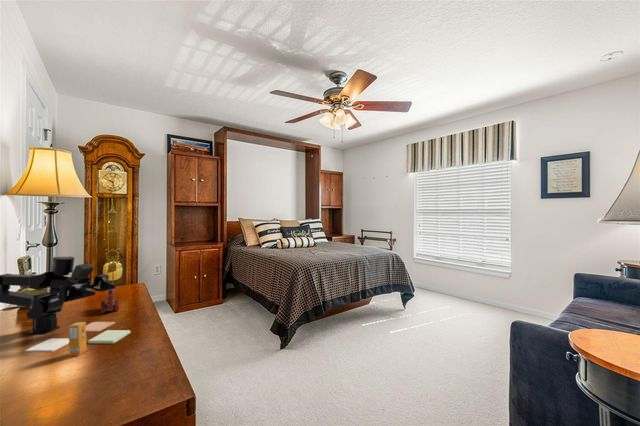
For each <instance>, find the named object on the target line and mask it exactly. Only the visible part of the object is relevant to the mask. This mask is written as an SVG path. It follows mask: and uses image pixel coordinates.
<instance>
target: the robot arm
mask: <svg viewBox="0 0 640 426" xmlns="http://www.w3.org/2000/svg"><path fill="white" fill-rule="evenodd" d="M74 264H75V256H54V257H53V259H52V270H50V271H46V272H43V273H40V274H13V273H3V274H0V303H1V304H6V305H13V306H18V307H24V308H30V309H29V310H28V311H27V312H26V317H27V319H30V320H32V330H31V331H29V332H28V335H30V334H31V335H32V334H33V335H45V334H48V333H51V332H52V331H55V330H57V329H59V328H60V327H61V326H60V325H58V317H57V313H60V312H61V311H62V309H63V306H64V303H67V302H73V301H76V300H81V299H83V298H89V297H93V296H95V295H96V293H97V292H101V293H102V292H104V291H105V292H106V291H108V290H111V289H113V290H115V289H116V285H115V284H113V283H112V282H110V281H109V274H105V273H103V274H100V275H97V276H95V277H94V280H93V282H91V277H90V274H92V273H93V271H94V269H95V267H94V266H93V264H89V263H87V264H86V263H81V264H78V265H75V267H74ZM70 274H71V276H69V275H70ZM11 286H14V287H15V286H17V287H18V286H19V287H28V288H29V289H31V290H36V291H42V290H46V289H48V288H49V289H48V291H46V292H43V293H38V294H29V293H23V292H18V291H12V290H10V289H11Z"/></svg>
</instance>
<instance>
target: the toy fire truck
mask: <svg viewBox="0 0 640 426" xmlns="http://www.w3.org/2000/svg"><path fill="white" fill-rule="evenodd" d="M114 290H115V289H111V290H107V296H106V300H103V301H100V314H105V312H113V309H114V312H118V311H119V310H120V302H119V299H118V298H117V299H115V297H114V293H115V291H114Z"/></svg>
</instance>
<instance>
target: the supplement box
mask: <svg viewBox="0 0 640 426" xmlns="http://www.w3.org/2000/svg"><path fill="white" fill-rule="evenodd" d="M86 325H87V322H86V321H78V322H74V323H72V324H70V325H68V338H69V343H68V346H69V347H68V350H69V354H68V355H69V356H70V357H77V356H81V355H82V354H84V353H85V352H87V332H86Z"/></svg>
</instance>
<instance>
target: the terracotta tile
mask: <svg viewBox="0 0 640 426" xmlns="http://www.w3.org/2000/svg"><path fill="white" fill-rule="evenodd" d="M113 324H116V322H115V321H93V322H90V323H88V324H86V333H89V332H90V333H94V332H95V333H96V332H97V333H98V332H101V331H103V330H104V329H107V328H109V327H110V326H112V325H113Z"/></svg>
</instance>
